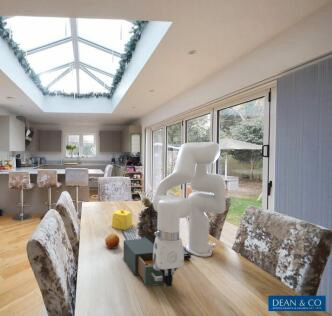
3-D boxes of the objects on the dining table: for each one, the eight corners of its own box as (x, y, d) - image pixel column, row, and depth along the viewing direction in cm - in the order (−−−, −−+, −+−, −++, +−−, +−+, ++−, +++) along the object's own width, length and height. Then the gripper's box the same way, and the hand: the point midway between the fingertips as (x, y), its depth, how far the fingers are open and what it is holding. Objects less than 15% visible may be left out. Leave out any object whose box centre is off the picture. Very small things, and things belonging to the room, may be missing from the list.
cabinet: (161, 272, 90) (162, 251, 90) (134, 275, 88) (135, 254, 88) (146, 256, 105) (147, 238, 105) (123, 258, 102) (123, 240, 102)
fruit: (122, 248, 110) (114, 234, 111) (109, 254, 112) (102, 241, 112) (123, 241, 118) (116, 229, 119) (111, 247, 119) (104, 235, 120)
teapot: (124, 232, 136) (124, 214, 136) (107, 229, 142) (108, 212, 142) (134, 223, 153) (134, 208, 153) (119, 221, 160) (119, 206, 159)
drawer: (178, 289, 77) (178, 270, 77) (150, 293, 75) (150, 273, 75) (155, 264, 95) (155, 248, 95) (132, 267, 93) (132, 251, 93)
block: (153, 269, 89) (153, 260, 89) (158, 274, 85) (158, 265, 85) (144, 270, 88) (144, 261, 88) (149, 275, 84) (149, 266, 84)
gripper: (154, 240, 69) (153, 293, 69) (193, 236, 72) (192, 288, 73) (144, 231, 76) (143, 280, 77) (180, 229, 80) (179, 276, 80)
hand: (167, 284), depth 75 cm, fingers closed
